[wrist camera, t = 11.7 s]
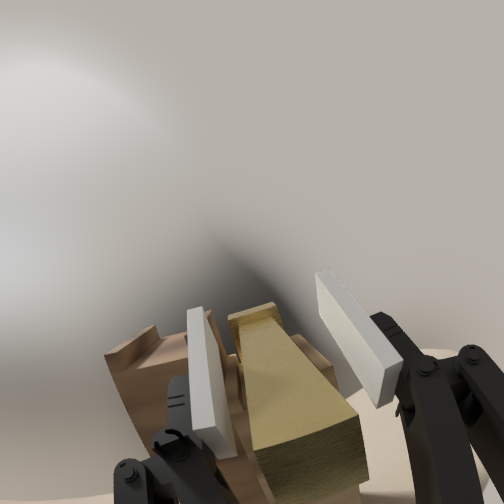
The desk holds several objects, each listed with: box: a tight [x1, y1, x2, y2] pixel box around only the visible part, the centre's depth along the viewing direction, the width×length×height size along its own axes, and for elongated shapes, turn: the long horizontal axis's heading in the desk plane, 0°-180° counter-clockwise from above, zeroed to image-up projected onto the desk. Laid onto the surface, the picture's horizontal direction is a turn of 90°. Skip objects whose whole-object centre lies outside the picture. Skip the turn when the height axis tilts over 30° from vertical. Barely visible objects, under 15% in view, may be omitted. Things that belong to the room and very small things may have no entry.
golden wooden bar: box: [228, 302, 370, 504], centre depth 17 cm, size 22×4×4 cm, turn 4°
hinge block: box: [104, 310, 362, 504], centre depth 19 cm, size 9×12×25 cm
